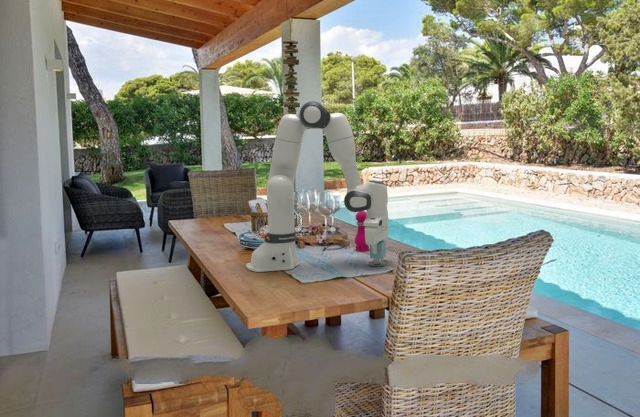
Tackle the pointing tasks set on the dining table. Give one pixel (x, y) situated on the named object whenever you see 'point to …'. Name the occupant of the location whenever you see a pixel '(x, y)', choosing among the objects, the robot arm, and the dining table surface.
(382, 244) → the teal rectangular block
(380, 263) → the grey round stand
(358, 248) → the pepper mill
